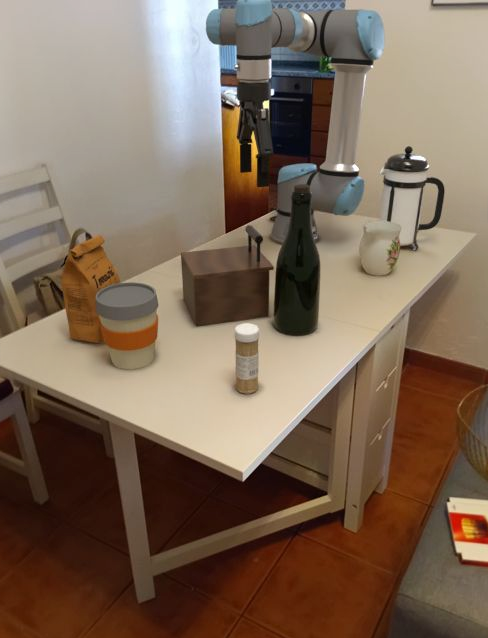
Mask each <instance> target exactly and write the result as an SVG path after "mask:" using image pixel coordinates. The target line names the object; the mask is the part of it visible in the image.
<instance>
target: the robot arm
mask: <svg viewBox="0 0 488 638" xmlns="http://www.w3.org/2000/svg"><path fill="white" fill-rule="evenodd" d="M235 3H236V4H235V8H226V7H221V8H214V9H212V10H210V11H209V13H208V14H207V17H206V19H205V34H206V36H207V39H208V40H209V42H210V43H211V44H213V45H216V46H217V45H218V46H221V47H222V46H223V47H225V46H231V47H232V46H234V47H236V48H235V49H236V55H235V57H236V58H235V59H236V64H234V65H233V68H234V70H236V79H237V80H239V81H237V83H236V99H237V101H239V115H238V123H237V131H236V139H237V141H238V144H239V173H241V174H244V173H245V174H246V173H252V166H253V165H252V157H253V156H252V144H253V143H254V141H255V145H256V150H257V153H256V154H255V159H256V188H265V187H266V188H267V187H270V163H271V162H270V161H271V160H270V158H271V157H273V156H274V147H273V139H272V131H271V123H270V109H269V107H265V108H264V102H267V101H270V100H271V98H272V83H271V81H269V80H271V78H272V65H273V64H272V62H273V61H272V48H285V49H286V48H288V49H289V50H290V51H292V52H294V53H303V54H307V55H312V56H316V57H321V58H330V66H331V68H332V69H333V70H334V80H333V91H332V98H331V108H330V118H329V126H328V136H327V146H326V155H325V161H324V162H323V163H322V164H321V165H319V170H318V167H317V165H316V164H314V163H295V164H290V165H285V166H282V167H281V168H280V169H279V171H278V177H277V183H276V184H277V207H274V206H273V207H272V206H271V208H269V211H272V210H273V211H275V212H276V213H277V214H276V215H273V216H270V218H269V220H270V221H272V222H273V225H272V228H271V230H270V231H271V233H270V235H271V236H270V238H271V240H272V241H273V242H275V243H277V244H280V245H282V244H283V242H284V239H285V237H286V234H287V231H288V228H289V223H290V215H291V194H292V191H294V186H295V185H297V184H306V185H309V186H310V191H311V192H312V201H311V226H312V232H313V236H314V240H315V243H316V242H317V241H318V240H319V230H318V226H317V223H316V219H315V212H321V213H327V214H331V215H334V216H343V217H347V216H348V217H349V216H351V215H352V214H354V213H355V211H356V210H357V209H358V207H360V205H361V202H362V200H363V196H364V192H365V179H364V178H363V177H361V176H359V174H360V168H359V167H358V165H356V158H357V150H358V143H359V142H358V141H359V135H360V134H359V133H360V127H361V119H362V112H363V103H364V95H365V88H366V80H367V74H368V73H369V72H370V71H371V70H372V69H373V68H374V61H376V60H379V59H380V58H381V56H382V54H383V51H384V48H385V39H386V38H385V37H386V36H385V25H384V22H383V18H382V16H381V15H380V14H379V13H378V12H377V11H376V10H370V9H363V8H362V9H361V8H360V9H359V8H358V9H322V10H321V9H320V10H314V11H307V12H306V11H305V12H302V11H297V10H295V9H293V8H289V7H280V8H273V4H272V0H237V1H236V2H235ZM252 136H254V141H253V139H252Z"/></svg>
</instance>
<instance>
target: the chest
mask: <svg viewBox="0 0 488 638" xmlns="http://www.w3.org/2000/svg"><path fill="white" fill-rule="evenodd" d="M180 263H181V265H180V266H181V278H182V279H181V281H182V292H183V293H182V296H183V297H182V298H183V299H182V300H183V302H184V304H185V306H186V308H187V311H188V313H189V314H190V317H191V319H192V321H193V323H194V325H195V327H201V326H209V325H217V324H223V323H231V322H239V321H245V320H252V319H253V320H254V319H261V318H267V317H269V316H270V315H269V313H270V312H269V311H270V271H271V270H268V271H260V272H251V273H242V274H233V275H224V276H216V277H207V278H198V279H194V278H193V277H192V275H191V273H190V271H189V269H188V268H187V266H186V264H185V262H184V260H183V259H182V257H181V256H180Z"/></svg>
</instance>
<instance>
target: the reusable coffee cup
mask: <svg viewBox="0 0 488 638" xmlns="http://www.w3.org/2000/svg"><path fill="white" fill-rule="evenodd" d="M159 305H160V304H159V299H158V295H157V291H156V289H155V288H154V287H153V286H152V285H150V284H146V283H142V282H134V281H133V282H120V283H118V284H114V285H110V286H107V287H105V288H103V289H101V290H100V291H99V292H98V293H97V294H96V312H97V313H98V314H99V317H100V320H99V325H100V328H101V332H102V335H103V342H104V344H105V345H106V346H107V349H108V353H109V356H110V360H111V362H112V364H113V365H114V366H115V367H117V368H119V369H123V370H138V369H142V368H145V367H147V366H148V365H150V364H152V363H153V361H154V360H155V351H156V341H157V339H158V333H159V332H158V331H159V315H158V308H159V307H160V306H159Z"/></svg>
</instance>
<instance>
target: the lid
mask: <svg viewBox="0 0 488 638" xmlns="http://www.w3.org/2000/svg"><path fill="white" fill-rule="evenodd" d="M245 232H246V233H247V245H242V246H233V247H222V248H212V249H203V250H191V251H184V252H180V258H181V257H182V259H183V260H184V262H185V264H186V266H187V268H188V269H189V271H190V273H191V275H192V277H193V278H194V279H198V278H207V277H216V276H224V275H233V274H242V273H251V272H260V271H268V270H269V271H274V269H275V268H274V267H275V266H274V265H273V264H272V263H271V262H270V260H269V259H268V258H267V257H266V256H265V254H263V252H261V244H262V243H263V242H264V236H262V234H261V233H259V232H258V230H256V228H255V227H254V226H253V225H251V224H249V225H247V226H246V227H245ZM252 240H253V241H254V243H255V244H256V245H255V244H252V243H253V242H252Z"/></svg>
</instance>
